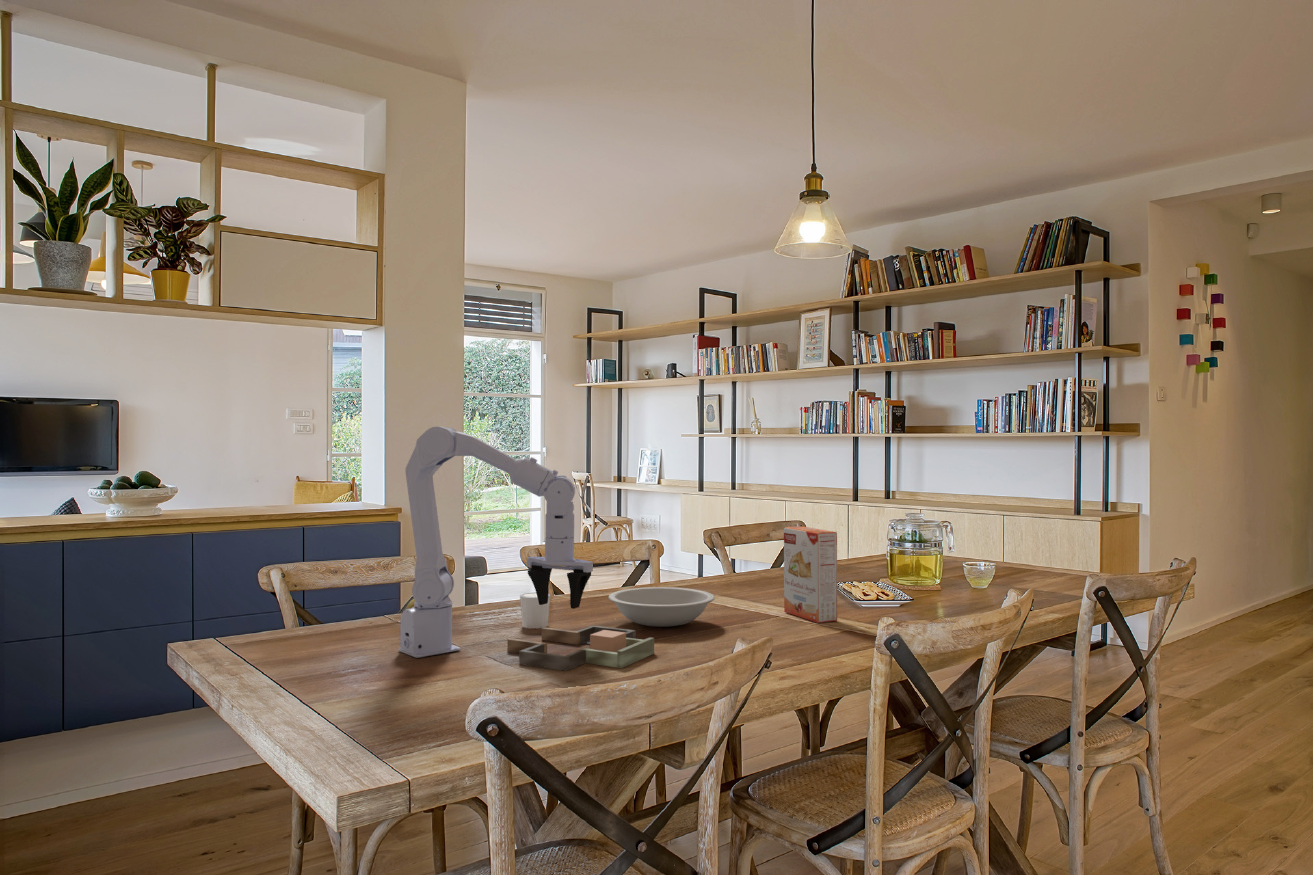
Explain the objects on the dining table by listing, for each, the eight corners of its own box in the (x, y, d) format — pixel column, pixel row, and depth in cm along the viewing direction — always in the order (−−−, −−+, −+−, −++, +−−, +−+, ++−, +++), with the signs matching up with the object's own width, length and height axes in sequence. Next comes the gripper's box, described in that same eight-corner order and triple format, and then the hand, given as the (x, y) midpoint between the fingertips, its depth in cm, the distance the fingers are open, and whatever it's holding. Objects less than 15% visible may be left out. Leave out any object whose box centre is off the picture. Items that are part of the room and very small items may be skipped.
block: (589, 658, 161) (590, 634, 161) (603, 652, 165) (604, 629, 165) (612, 661, 158) (612, 637, 158) (625, 655, 163) (626, 632, 163)
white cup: (553, 622, 192) (553, 592, 193) (546, 629, 186) (546, 597, 186) (524, 622, 193) (524, 591, 193) (516, 628, 186) (516, 597, 186)
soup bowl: (717, 637, 178) (717, 606, 179) (604, 636, 179) (604, 605, 179) (712, 614, 202) (712, 587, 203) (612, 614, 203) (612, 586, 203)
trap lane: (486, 658, 160) (486, 642, 160) (562, 632, 182) (562, 618, 182) (603, 676, 148) (603, 659, 148) (669, 646, 170) (669, 631, 170)
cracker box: (782, 612, 205) (782, 526, 205) (803, 610, 207) (803, 525, 207) (816, 623, 192) (816, 531, 192) (838, 621, 195) (838, 530, 195)
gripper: (601, 537, 168) (600, 605, 167) (541, 533, 174) (540, 599, 174) (582, 540, 161) (581, 611, 161) (520, 536, 168) (520, 604, 168)
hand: (559, 605), depth 167 cm, fingers open, 7 cm apart
